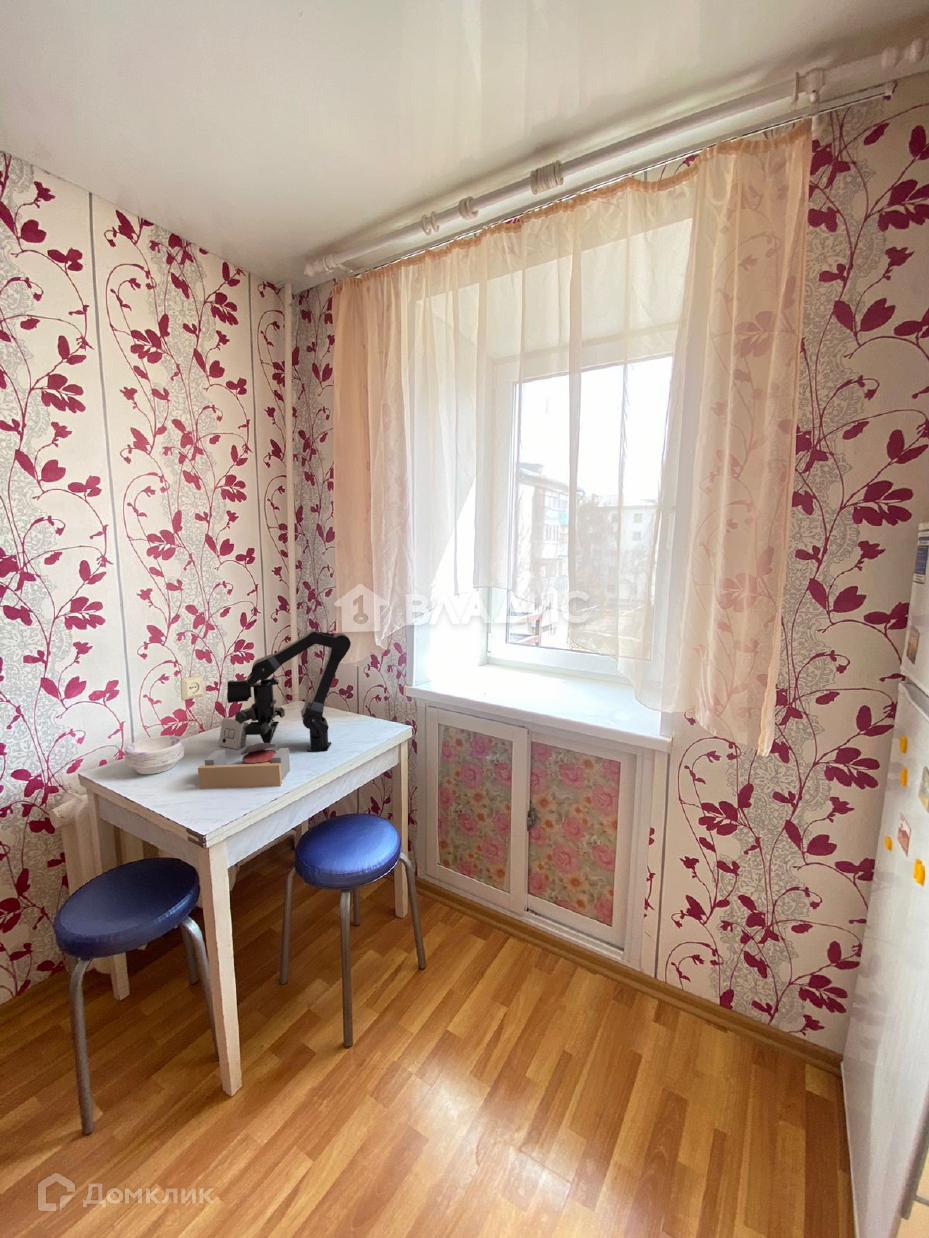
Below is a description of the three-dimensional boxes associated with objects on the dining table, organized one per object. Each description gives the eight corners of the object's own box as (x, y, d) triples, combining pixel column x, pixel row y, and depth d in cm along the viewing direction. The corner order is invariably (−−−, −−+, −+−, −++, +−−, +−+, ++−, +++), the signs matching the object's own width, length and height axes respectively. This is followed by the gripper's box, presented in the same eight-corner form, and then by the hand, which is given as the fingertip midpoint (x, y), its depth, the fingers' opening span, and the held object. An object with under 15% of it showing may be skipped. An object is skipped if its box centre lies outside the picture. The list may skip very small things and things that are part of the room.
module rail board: (216, 772, 146) (214, 750, 145) (291, 770, 146) (290, 747, 145) (199, 788, 136) (197, 764, 135) (280, 785, 136) (278, 761, 136)
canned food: (245, 785, 148) (226, 758, 146) (262, 767, 157) (245, 742, 156) (274, 770, 145) (255, 743, 144) (290, 753, 155) (273, 727, 153)
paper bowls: (197, 761, 154) (194, 737, 153) (151, 782, 140) (149, 755, 139) (161, 755, 160) (159, 731, 158) (114, 775, 145) (111, 749, 144)
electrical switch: (218, 746, 167) (218, 718, 166) (231, 742, 171) (231, 715, 171) (237, 750, 163) (237, 722, 162) (250, 746, 167) (250, 719, 167)
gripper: (250, 691, 164) (253, 736, 166) (224, 708, 146) (228, 759, 148) (283, 690, 165) (286, 735, 167) (262, 707, 146) (266, 758, 148)
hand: (267, 746), depth 157 cm, fingers closed
